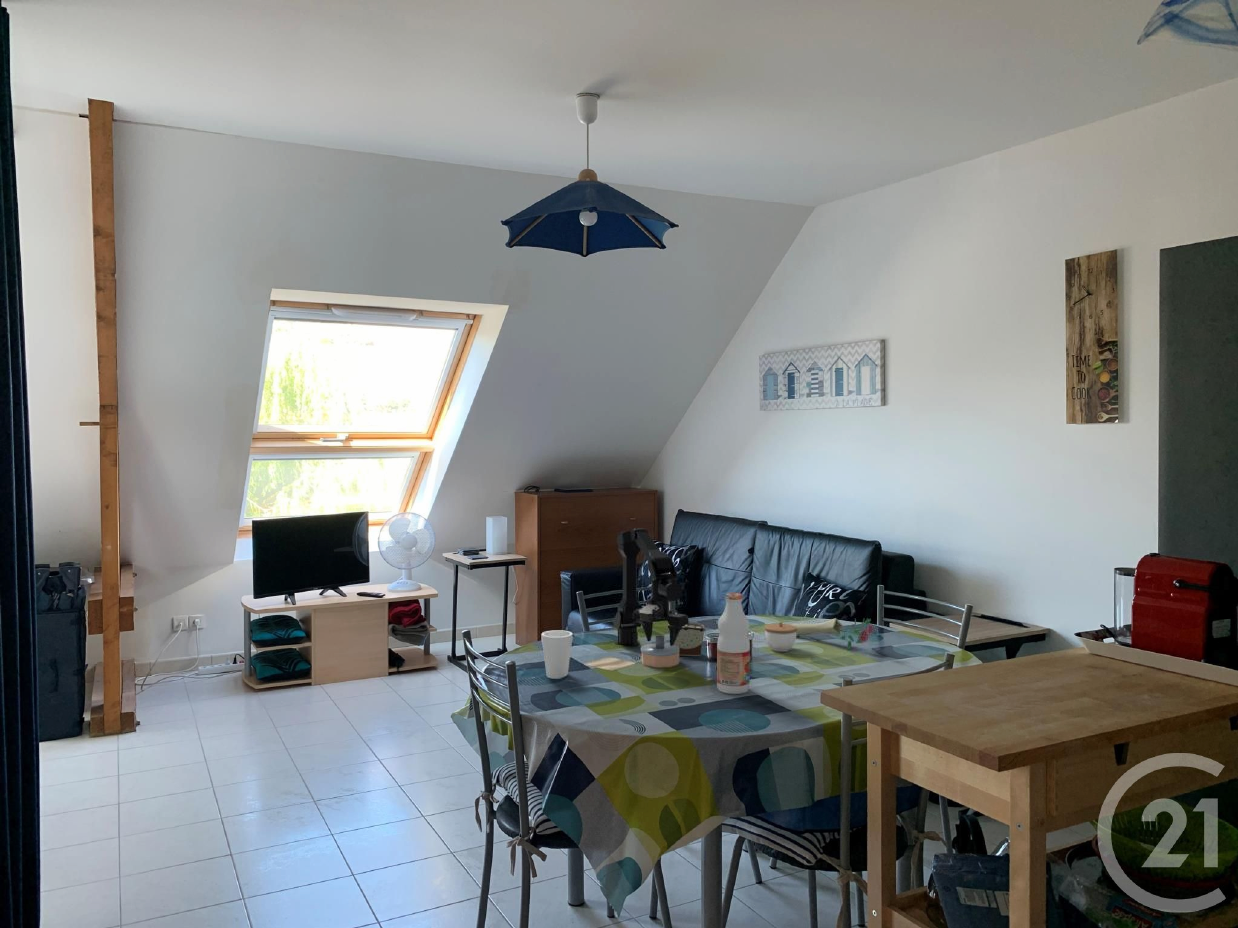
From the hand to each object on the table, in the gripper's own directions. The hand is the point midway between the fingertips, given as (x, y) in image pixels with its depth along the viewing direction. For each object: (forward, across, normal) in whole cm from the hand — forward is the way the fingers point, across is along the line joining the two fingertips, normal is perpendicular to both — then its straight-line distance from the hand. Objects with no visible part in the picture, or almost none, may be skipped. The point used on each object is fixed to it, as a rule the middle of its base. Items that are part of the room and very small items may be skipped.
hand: (660, 643), depth 297 cm
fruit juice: (+7, +34, -9) cm, 36 cm away
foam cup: (+7, -15, -32) cm, 36 cm away
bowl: (+6, 0, 0) cm, 6 cm away
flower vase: (+7, +31, +58) cm, 66 cm away
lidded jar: (+7, +20, +41) cm, 46 cm away
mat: (+6, -11, -12) cm, 18 cm away
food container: (+7, -1, +16) cm, 17 cm away
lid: (+2, 0, 0) cm, 3 cm away
